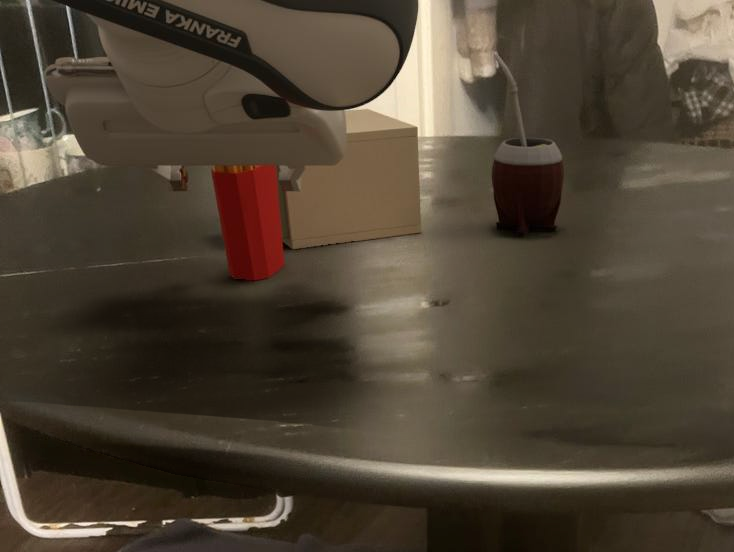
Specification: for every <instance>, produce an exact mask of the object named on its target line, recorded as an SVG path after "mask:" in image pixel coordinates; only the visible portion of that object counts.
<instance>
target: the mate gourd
mask: <svg viewBox="0 0 734 552" xmlns="http://www.w3.org/2000/svg"><path fill="white" fill-rule="evenodd" d="M493 57H494V59H495V60H496V62H497V64H498V65H499V67H500V69H501V70H502V71H503V73H504V75H505V78H506V79H507V87H508V90H509V91H508V92H509V94H510V96H511V99H512V100H511V101H512V106H513V111H514V116H515V117H514V118H515V123H516V127H517V133H518V137H517V138H510V139H506V140H503V142H501V144H500V145H499V146H498V148H497V150H496V152H495V154H494V156H493V162H492V163H493V164H492V168H491V184H492V191H493V200H494V207H495V210H496V213H497V218H498V221H496V222H495V227H496V229H502V230H503V229H504V230H516V232H515V233H516V237H519V238H521V237H522V238H524V237H526V235H527V234H528V233H529V232H530V231H532V232H534V231H536V232H550V233H552V232H553V233H556V232H557V229H558V225H556V224H555V223H556V220H557V216H558V213H559V210H560V207H561V201H562V194H563V185H564V178H565V172H564V171H565V170H564V167H565V166H564V163H563V162H564V161H563V156H562V153H561V150H560V149H559V148H558V145H557V143H555V142H554V141H553V140H551V139H546V138H539V137H526V135H525V129H524V123H523V119H522V113H521V108H520V101H519V97H518V96H519V95H518V92H519V90H518V86H517V85H518V84H517V81H516V80H515V79H514V76H513V75H512V72H511V71H510V69H509V67H508V65H507V64H506V63H505V62H504V60H503V59H502V58H501V56H500V55H499V54H498V53H494V54H493Z"/></svg>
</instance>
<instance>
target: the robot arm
mask: <svg viewBox="0 0 734 552" xmlns="http://www.w3.org/2000/svg"><path fill="white" fill-rule="evenodd" d="M52 1H53V2H56V3H58V4H61V5H62V6H66V7H68V8H71V9H74V10H76V11H79V12H81V13H83V14H84V13H85V14H86V16H88V17H89V18H90V20H91V21H92V22H93V23H94V24H95V25H96V26H97V30H98V35H99V39H100V43H101V45H102V48H103V51H104V53H105V55H106V56H97V57H89V58H88V57H87V58H76V57H73V56H67V57H66V56H64V57H59V58H56V60H55V62H54V63H53V64H50V65H48V66H47V67H46V68H45V69H44V71H43V79H44V83H45V85H46V87H47V88H48V89H47V90H48V91H49V92H50V94H51V95H52V97H53V98H54V99H55V100H56V101H57V102H58V103H59V104H60V105H61V106H63V107H65V108H64V109H65V114H66V118H67V120H68V123H69V127H70V128H71V131H72V134H73V136H74V138H75V140H76V142H77V145H78V146H79V148H80V149H81V151H82V153H83V154H84V156H85V157H86V158H87V159H89V160H90V161H93V162H94V163H96V164H98V165H100V166H105V167H111V166H113V167H115V166H121V167H124V166H125V167H126V166H127V167H128V166H131V167H132V166H133V167H135V166H136V167H137V166H138V167H140V169H141V170H142V171H144V172H146V173H147V174H149V175H151V176H153V177H154V178H156V179H157V180H160V181H162V182H163V184H164V185H165V188H166V189H167V191H168V192H169V193H171V192H172V193H173V192H187V191H188V187H189V186H188V182H189V174H188V170H187V169H186V168H185V166H186V167H187V166H188V167H190V166H193V167H194V166H197V167H198V166H199V167H200V166H201V167H204V166H205V167H208V166H211V167H212V166H214V167H215V166H279V169H280V172H279V183H280V186H282V191H294V192H300V191H301V175H302V173H303V172H304V170H305V168H306V166H333V165H337V164H338V163H339V162H340V161H341V160H342V159H343V158H344V157H345V153H346V141H347V126H346V117H345V112H344V111H348V110H354V109H356V108H360V107H362V106H365V105H367V104H370V103H371V102H373V101H375V100H376V99H378V97H380V96H381V95H382V94H384V93H385V92H386V91H387V90H388V89H389V88H390V87H391V85H392V84H393V83H394V82H395V80H396V78H397V77H398V75H399V74H400V73H401V70H402V69H403V67H404V64H405V62H406V61H407V58H408V56H409V53H410V50H411V47H412V43H413V40H414V36H415V32H416V27H417V21H418V17H419V16H418V15H419V0H52Z"/></svg>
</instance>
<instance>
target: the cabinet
mask: <svg viewBox="0 0 734 552" xmlns="http://www.w3.org/2000/svg"><path fill="white" fill-rule="evenodd" d="M344 112H345V117H346V126H347V141H346V153H345V157H344V158H343V159H342V160H341V161H340V162H339V163H338V164H337V165H333V166H306V168H305V170H304V172H303V173H302V175H301V191H300V192H294V191H284V196H285V204H286V213H287V222H288V231H289V238H287V239H282V243H283V244H285V245H286V246H287V247H289V248H290V249H291V250H300V248H301V249H308V248H315V247H314V246H316V247H322V246H321V245H323V246H329V245H328V244H331V245H337V244H336V243H339V244H345V242H346V243H352V242H351V241H354V242H360V241H361V242H362V241H367V240H375V239H376V240H377V239H383V238H390V237H398V236H405V235H406V236H407V235H413V234H420V233H422V216H421V215H422V214H421V211H422V210H421V189H420V187H421V186H420V160H419V130H418V126H417V125H414V124H411V123H408V122H405V121H402V120H400V119H397V118H394V117H391V116H389V115H387V114H383V113H380V112H377V111H375V110H371V109H369V108H363V109H348V110H344ZM307 247H308V248H307Z"/></svg>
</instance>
